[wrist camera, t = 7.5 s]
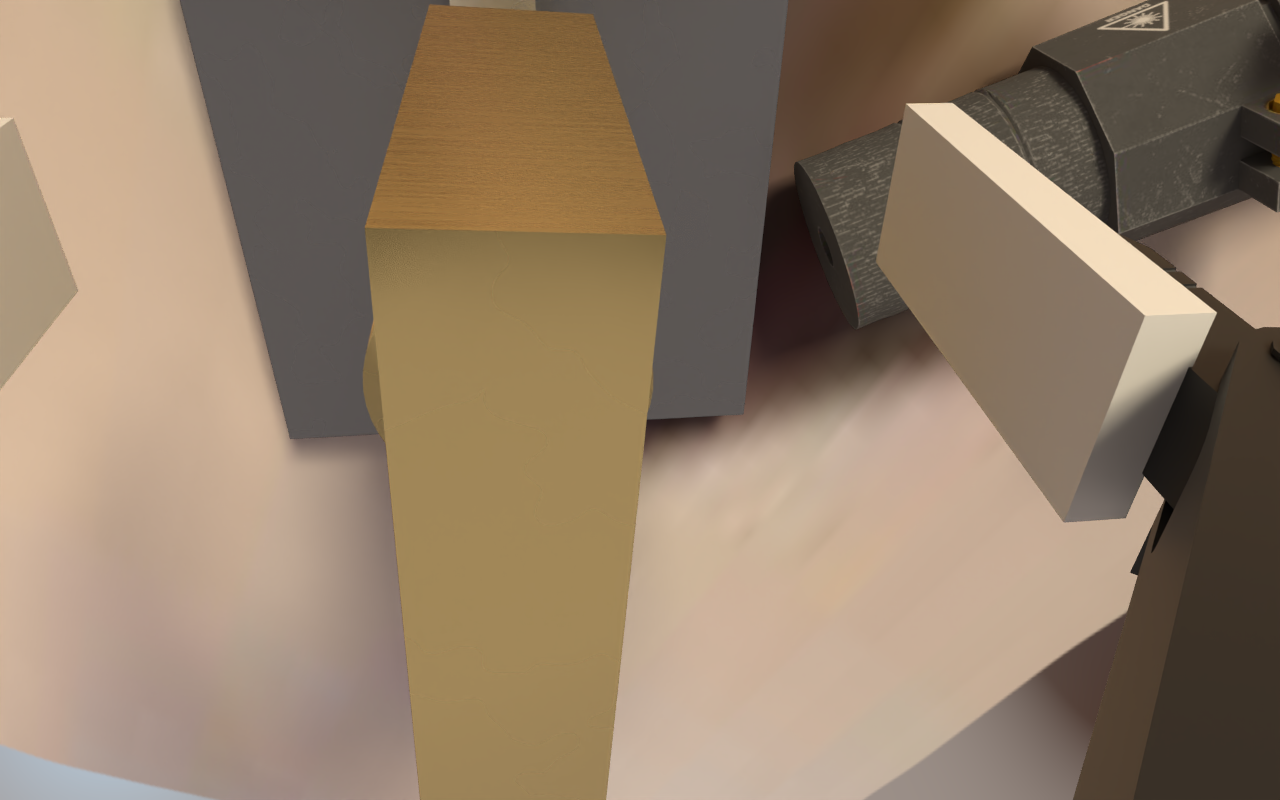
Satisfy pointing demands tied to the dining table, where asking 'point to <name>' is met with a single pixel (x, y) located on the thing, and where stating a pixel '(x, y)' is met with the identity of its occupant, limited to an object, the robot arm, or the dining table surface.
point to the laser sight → (1089, 134)
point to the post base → (359, 138)
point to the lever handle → (512, 394)
